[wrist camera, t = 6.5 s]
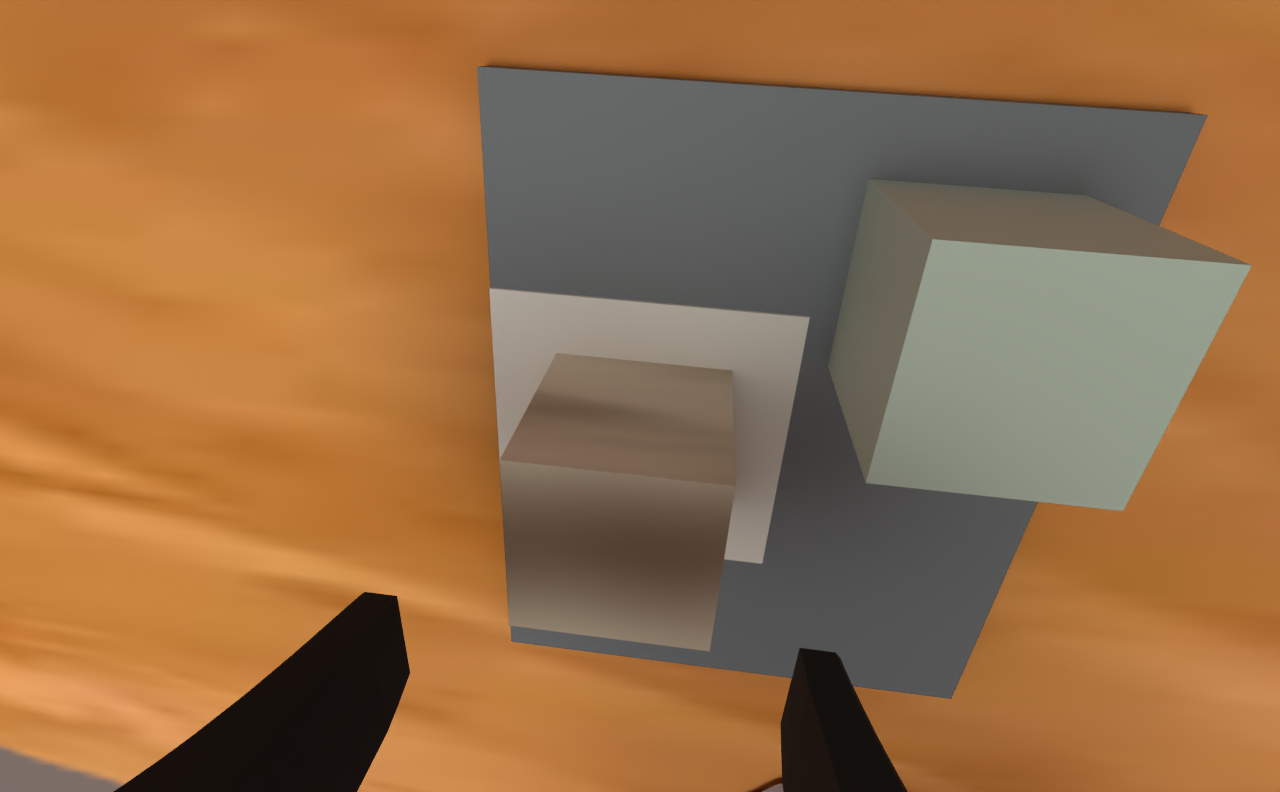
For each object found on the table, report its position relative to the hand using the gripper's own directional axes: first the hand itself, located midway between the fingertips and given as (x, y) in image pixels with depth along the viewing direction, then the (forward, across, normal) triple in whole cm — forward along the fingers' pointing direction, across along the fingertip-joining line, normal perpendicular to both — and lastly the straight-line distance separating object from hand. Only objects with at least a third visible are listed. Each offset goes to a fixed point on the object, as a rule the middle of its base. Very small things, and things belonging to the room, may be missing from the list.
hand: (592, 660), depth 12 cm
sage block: (+7, -7, -5) cm, 11 cm away
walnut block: (+7, 0, 0) cm, 7 cm away
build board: (+8, -4, 0) cm, 9 cm away
